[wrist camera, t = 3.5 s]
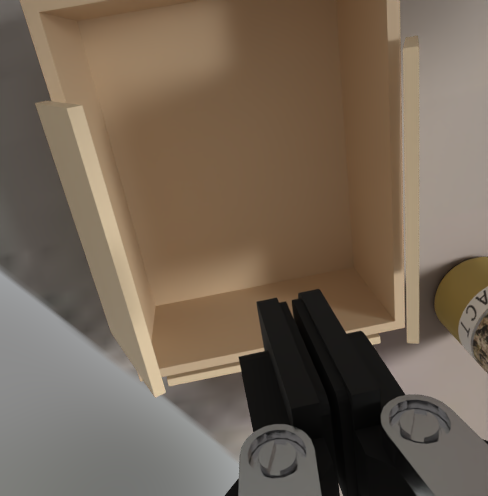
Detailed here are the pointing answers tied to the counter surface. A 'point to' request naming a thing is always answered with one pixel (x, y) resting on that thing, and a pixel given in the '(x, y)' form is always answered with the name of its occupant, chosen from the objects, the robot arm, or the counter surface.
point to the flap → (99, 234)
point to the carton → (240, 159)
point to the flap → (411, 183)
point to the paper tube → (466, 306)
